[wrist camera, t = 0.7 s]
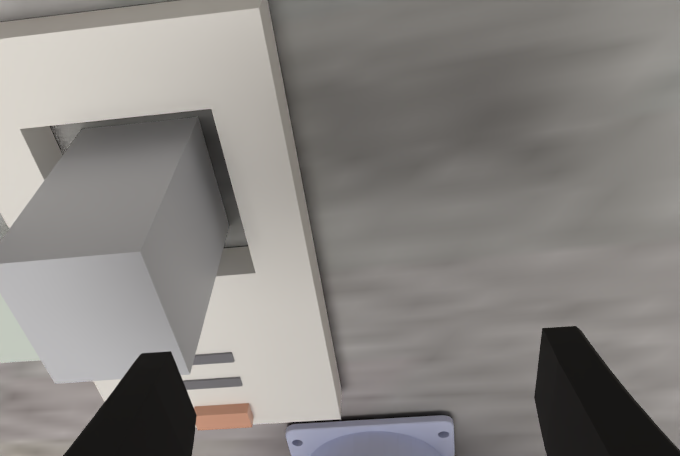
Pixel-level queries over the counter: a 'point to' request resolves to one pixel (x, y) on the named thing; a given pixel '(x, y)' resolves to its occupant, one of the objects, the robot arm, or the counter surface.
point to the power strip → (243, 166)
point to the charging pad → (13, 338)
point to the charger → (117, 251)
